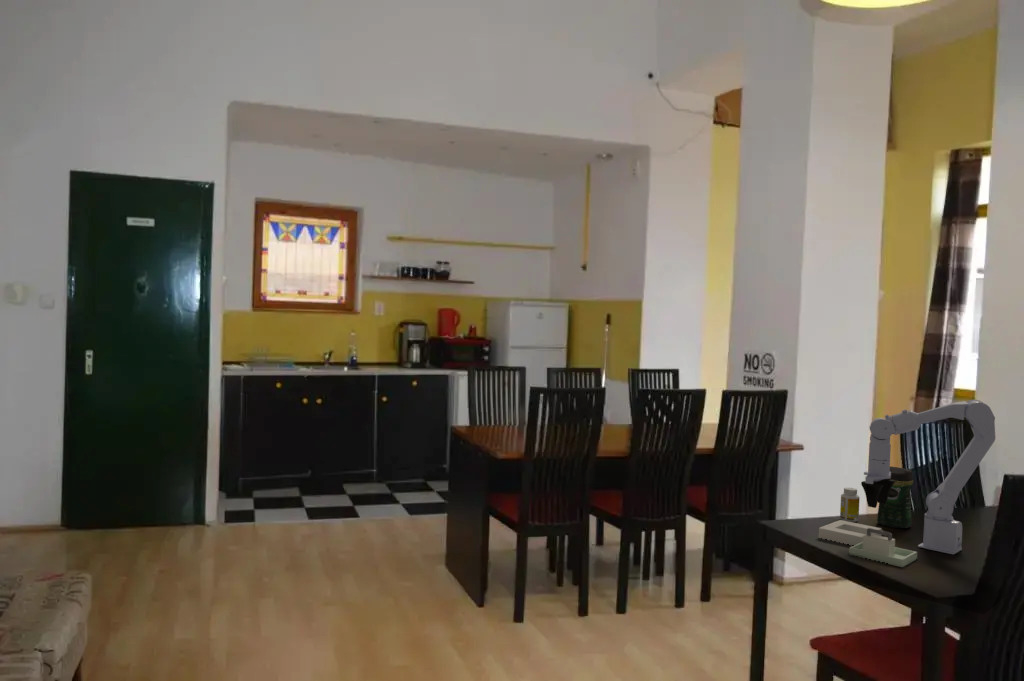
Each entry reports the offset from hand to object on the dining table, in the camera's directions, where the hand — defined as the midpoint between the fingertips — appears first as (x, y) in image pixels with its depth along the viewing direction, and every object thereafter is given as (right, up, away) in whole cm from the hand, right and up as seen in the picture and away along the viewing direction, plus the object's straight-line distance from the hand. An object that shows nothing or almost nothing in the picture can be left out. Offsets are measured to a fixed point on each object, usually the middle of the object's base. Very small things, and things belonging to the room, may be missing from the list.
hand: (877, 505), depth 237 cm
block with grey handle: (-7, -10, -16) cm, 20 cm away
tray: (-6, -11, -17) cm, 21 cm away
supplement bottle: (+2, -10, +24) cm, 26 cm away
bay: (-7, -10, +1) cm, 12 cm away
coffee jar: (+14, -11, +19) cm, 26 cm away
